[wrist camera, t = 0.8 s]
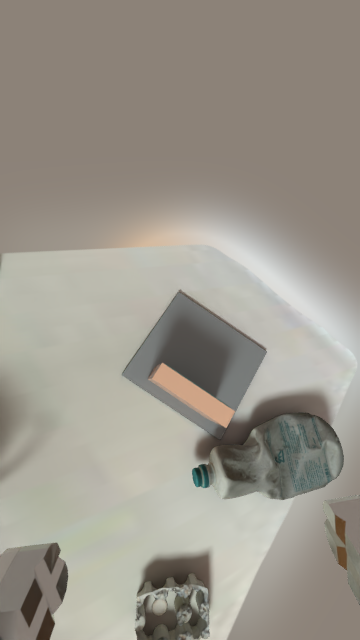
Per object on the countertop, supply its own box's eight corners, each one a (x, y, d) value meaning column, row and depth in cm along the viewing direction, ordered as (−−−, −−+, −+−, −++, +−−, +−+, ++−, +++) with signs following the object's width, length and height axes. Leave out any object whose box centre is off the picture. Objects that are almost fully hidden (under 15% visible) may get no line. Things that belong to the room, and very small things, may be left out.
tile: (147, 379, 45) (152, 378, 35) (156, 365, 46) (163, 361, 36) (205, 418, 45) (226, 428, 36) (213, 404, 46) (235, 410, 36)
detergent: (313, 404, 50) (184, 423, 45) (344, 412, 43) (195, 435, 38) (324, 479, 48) (191, 508, 43) (357, 499, 41) (204, 536, 36)
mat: (121, 374, 45) (121, 374, 44) (178, 292, 50) (178, 291, 49) (219, 439, 45) (220, 440, 45) (265, 352, 51) (267, 351, 50)
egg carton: (133, 637, 38) (134, 666, 34) (136, 576, 39) (136, 597, 36) (204, 627, 39) (212, 654, 36) (204, 569, 41) (211, 588, 37)
